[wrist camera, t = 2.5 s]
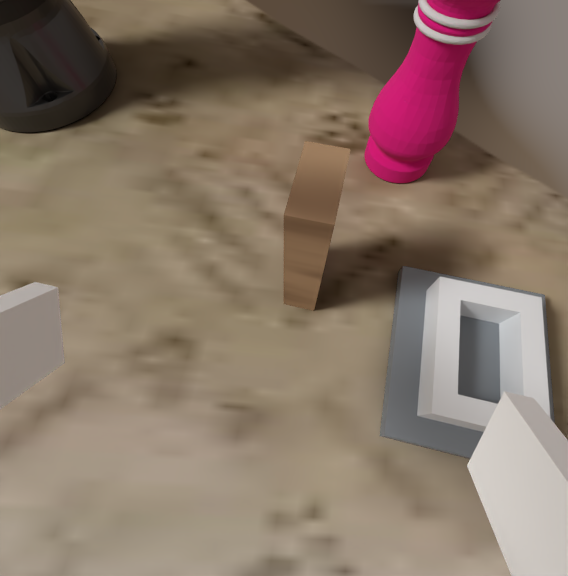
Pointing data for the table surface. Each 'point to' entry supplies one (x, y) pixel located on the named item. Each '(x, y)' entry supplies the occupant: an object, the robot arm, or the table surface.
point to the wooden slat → (311, 220)
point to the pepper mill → (425, 88)
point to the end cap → (461, 358)
